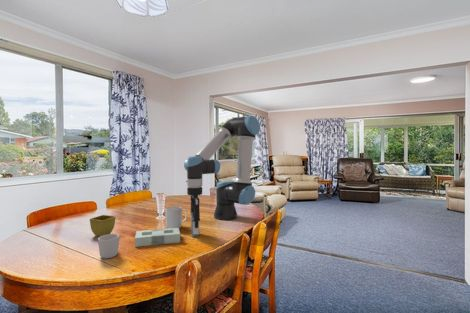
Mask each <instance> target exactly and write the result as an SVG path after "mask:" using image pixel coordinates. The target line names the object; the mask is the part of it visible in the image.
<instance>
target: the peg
mask: <svg viewBox="0 0 470 313" xmlns="http://www.w3.org/2000/svg"><path fill="white" fill-rule="evenodd" d="M190 212H191V211H190ZM192 220H194V214H193V212H191V213H190V230H191V231H190V232H191V233H190V234H191V237H192V238H196V237H199V234H200V233H199V234H193V222H192Z"/></svg>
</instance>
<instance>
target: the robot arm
mask: <svg viewBox="0 0 470 313" xmlns="http://www.w3.org/2000/svg"><path fill="white" fill-rule="evenodd" d="M260 130H261V124H260V122H259V120H258V118H257V117H255V116H254V115H246V116H238V117H232V118H231V119H229V120H228V121H226V122H224V124H222V125H221V127H219V128H218V131H217V133H216V134H214V136H213V137H212V138H211V139H210V140H209V141H208V142H207V143H206V144H205V145H203V147H202V148H201V149H200V150H199V151H198V152H197V153H196V154H195V155H194V156H192V155H191V156H188V157H187V159H186V160H185V161H184V165H183V167H184V170H186V177H187V178H186V179H187V180H186V181H185V182H186V184H187V188H186V192H187V193H186V194H187V195H188V196H190V198H189V200H190V214H191V212H193V214H194V220H192V222H193V234H200V221H201V217H200V214H201V213H200V198H199V196H201V195H202V194H203V187H202V186H203V175H209V174H210V175H211V174H218V173H219V172H220V170H221V163H220V161H219V160H218V159H212V157H213V156H214V155H215V154H216V153H217V152H218V150H219V149H221V147H223V145H224V144H225V143H226V142H227V141H229V140H231V139H232V138H233V137H236V138H237V139H238V146H237V148H238V149H237V159H236V160H237V161H236V171H235V172H236V173H235V179H234V180H229V181H228V180H227V181H220V182H217V183H216V188H215V189H216V191H215V192H216V194H215V195H216V205H215V208H214V212H213V219H216V220H220V221H229V220H234V219H237V218H238V211H237V209H236V206H235V204H239V205H242V206H243V205H244V206H245V205H246V206H247V205H249V204H251V203H253V201H254V199H255V197H256V189H255V187H254V186H253V182H252V180H251V168H252V166H251V165H252V156H253V144H254V143H253V142H254V140H256V136H257V135H259V133H260Z"/></svg>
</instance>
